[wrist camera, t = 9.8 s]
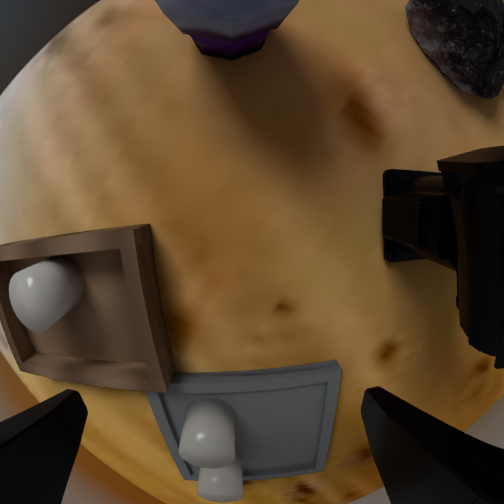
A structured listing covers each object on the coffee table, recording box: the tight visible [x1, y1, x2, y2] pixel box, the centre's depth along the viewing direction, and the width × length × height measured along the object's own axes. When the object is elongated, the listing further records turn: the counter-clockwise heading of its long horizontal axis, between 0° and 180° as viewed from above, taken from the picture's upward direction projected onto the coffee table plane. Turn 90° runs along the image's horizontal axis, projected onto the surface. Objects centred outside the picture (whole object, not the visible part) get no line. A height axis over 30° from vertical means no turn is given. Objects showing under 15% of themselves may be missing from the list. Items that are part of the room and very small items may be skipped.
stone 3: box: [197, 452, 243, 502], centre depth 19 cm, size 4×4×4 cm
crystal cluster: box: [405, 0, 504, 99], centre depth 10 cm, size 13×14×10 cm
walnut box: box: [0, 224, 175, 392], centre depth 17 cm, size 15×11×3 cm
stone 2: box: [179, 398, 235, 469], centre depth 17 cm, size 4×4×4 cm
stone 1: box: [9, 255, 85, 332], centre depth 15 cm, size 4×4×4 cm
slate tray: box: [145, 360, 342, 481], centre depth 21 cm, size 15×15×1 cm
